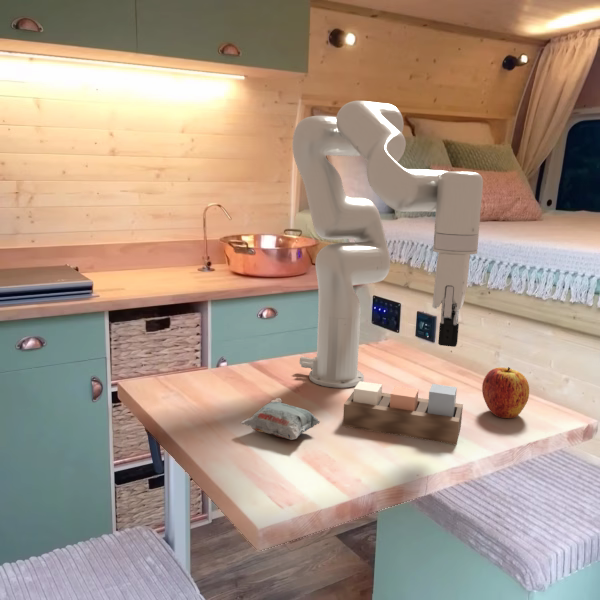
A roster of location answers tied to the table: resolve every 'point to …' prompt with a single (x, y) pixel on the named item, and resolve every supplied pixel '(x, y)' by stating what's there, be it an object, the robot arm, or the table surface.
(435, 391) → the grey block
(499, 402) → the apple
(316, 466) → the table surface
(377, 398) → the key cream
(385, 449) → the table surface
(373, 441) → the table surface
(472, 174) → the robot arm
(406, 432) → the frame block
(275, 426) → the packaged food
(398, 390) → the key terracotta
